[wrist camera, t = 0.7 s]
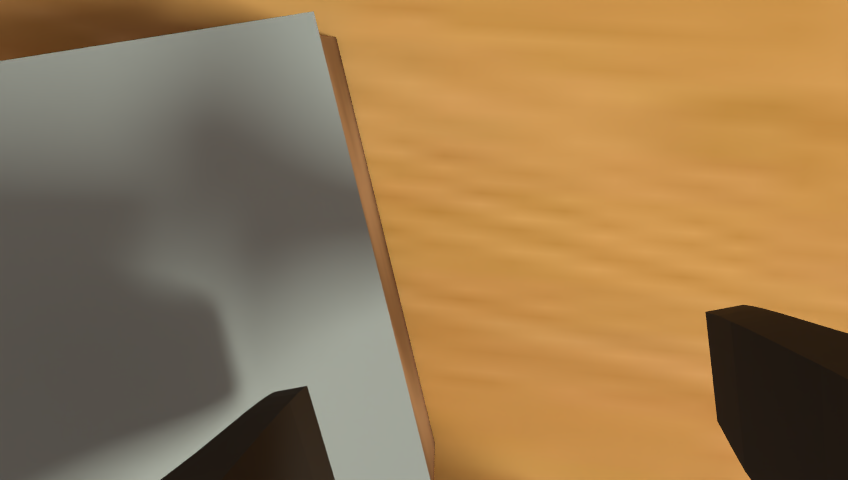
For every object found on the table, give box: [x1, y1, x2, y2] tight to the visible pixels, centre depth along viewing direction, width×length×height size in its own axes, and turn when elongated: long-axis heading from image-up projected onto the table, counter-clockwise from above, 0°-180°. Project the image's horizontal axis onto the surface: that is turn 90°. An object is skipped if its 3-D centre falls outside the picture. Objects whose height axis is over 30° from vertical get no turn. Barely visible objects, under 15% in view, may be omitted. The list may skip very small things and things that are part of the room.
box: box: [320, 35, 435, 480], centre depth 19 cm, size 14×10×5 cm
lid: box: [0, 12, 430, 480], centre depth 14 cm, size 15×11×3 cm
